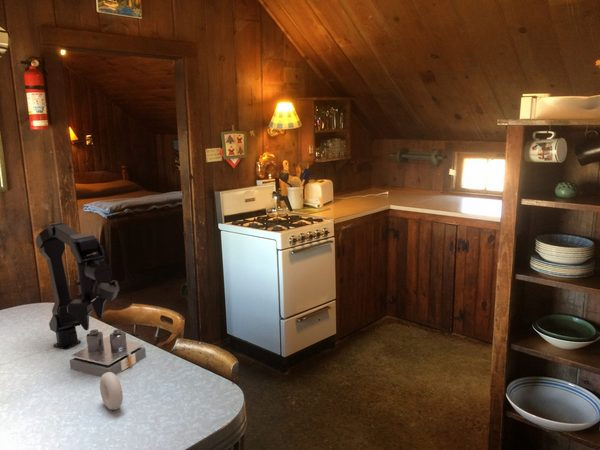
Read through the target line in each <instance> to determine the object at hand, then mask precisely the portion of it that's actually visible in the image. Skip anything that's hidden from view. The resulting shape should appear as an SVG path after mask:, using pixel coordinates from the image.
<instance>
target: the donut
mask: <svg viewBox="0 0 600 450" xmlns="http://www.w3.org/2000/svg"><path fill="white" fill-rule="evenodd" d="M99 391H100V396H101V398H102V402H103V403H104V405H105V406H106V408H107V409H109V410H111V411H112V410H113V411H114V410H118V409H119V408H120V407H121V406H122V404H123V399H124V395H123V388H122V384H121V381H120V380H119V378H118V376H117V374H116V375H115V374H114V373H112V372H107V373H105V374H103V375H102V377H101V376H100V378H99Z"/></svg>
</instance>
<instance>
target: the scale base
mask: <svg viewBox="0 0 600 450" xmlns="http://www.w3.org/2000/svg"><path fill="white" fill-rule="evenodd" d="M146 351H147V350H146V347H143V346H141V347H139V348H137V349H136V350H134V351H132V352H131V360H132V364H133V365H135V364H136V363H138V362H139V361H141V360H143V359H144V358H146V357H147V354H146ZM145 356H146V357H145ZM69 365H70V368H69V369H70V370H73V371H76V372H80V373H85V374H90V375H93V376H97V377H100V378H101V377H102V375H103V374H105V373H107V372H112V373H114V374H115V375H116V376H117V375H118V374H119V373H121V372H123V371H124V370H126V369H127V368H130V367H129V359H128V356H126V357H124V358H123V359H121V360H119V361H117V362H116V363H114V364H111V366H110V365H109V367H107V366H103V365H99V364H96V363H90V362H88V361H87V360H83V359H79V358H74V357H72V358H70V359H69Z"/></svg>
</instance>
